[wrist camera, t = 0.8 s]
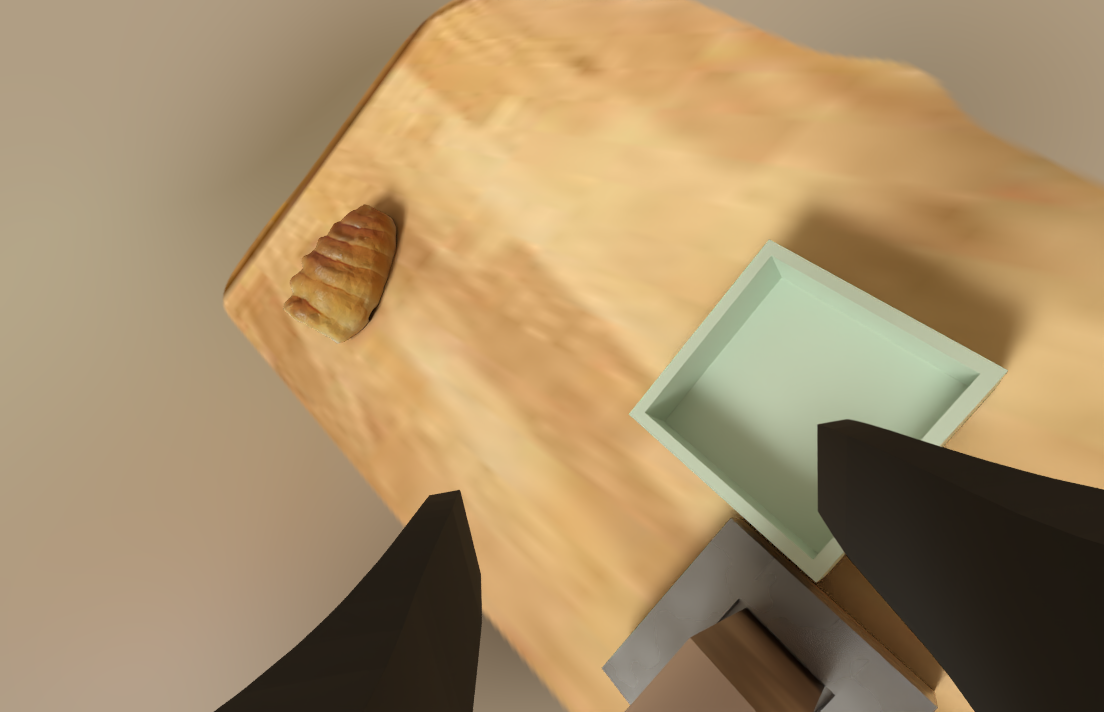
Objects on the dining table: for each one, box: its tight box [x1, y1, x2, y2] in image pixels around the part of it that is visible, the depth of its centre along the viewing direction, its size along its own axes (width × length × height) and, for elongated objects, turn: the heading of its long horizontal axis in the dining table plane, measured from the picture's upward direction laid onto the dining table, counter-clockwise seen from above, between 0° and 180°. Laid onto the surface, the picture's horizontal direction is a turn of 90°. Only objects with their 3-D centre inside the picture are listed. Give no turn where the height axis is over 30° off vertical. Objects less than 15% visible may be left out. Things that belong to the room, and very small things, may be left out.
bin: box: [629, 239, 1008, 582], centre depth 22 cm, size 9×9×3 cm
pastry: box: [283, 205, 396, 343], centre depth 39 cm, size 9×7×4 cm
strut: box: [625, 608, 824, 712], centre depth 18 cm, size 3×3×7 cm
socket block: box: [602, 518, 938, 712], centre depth 21 cm, size 8×8×2 cm
